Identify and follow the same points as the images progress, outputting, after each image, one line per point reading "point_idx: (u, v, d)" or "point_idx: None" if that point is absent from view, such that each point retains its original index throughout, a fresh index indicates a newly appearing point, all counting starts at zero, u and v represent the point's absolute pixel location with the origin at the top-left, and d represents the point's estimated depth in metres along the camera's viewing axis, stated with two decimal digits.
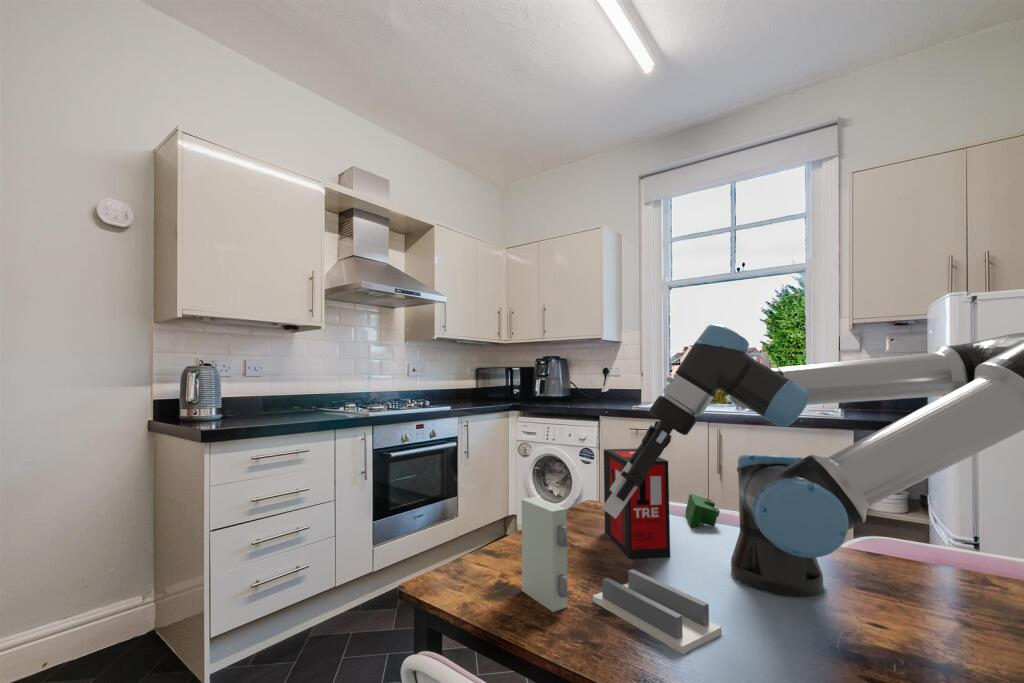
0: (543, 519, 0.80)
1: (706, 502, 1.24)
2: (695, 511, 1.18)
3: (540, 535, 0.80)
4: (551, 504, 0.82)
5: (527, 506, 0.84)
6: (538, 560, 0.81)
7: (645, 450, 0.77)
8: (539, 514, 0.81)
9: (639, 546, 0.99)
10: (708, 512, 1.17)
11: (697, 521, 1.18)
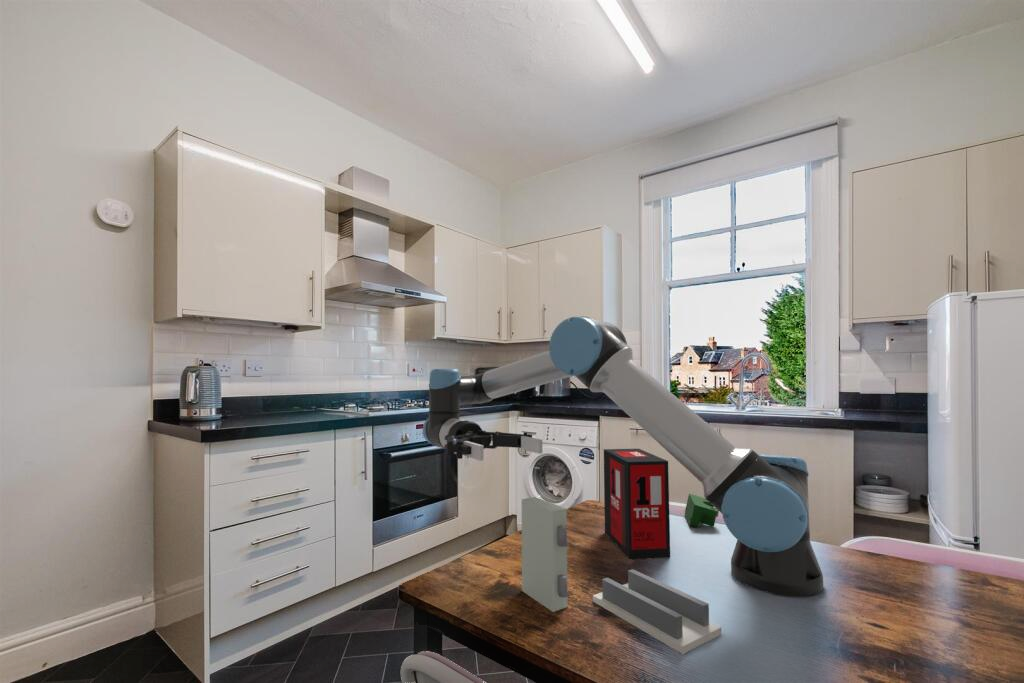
0: (543, 519, 0.80)
1: (705, 502, 1.24)
2: (694, 511, 1.18)
3: (540, 535, 0.80)
4: (551, 504, 0.82)
5: (527, 506, 0.84)
6: (538, 560, 0.81)
7: None
8: (539, 514, 0.81)
9: (639, 546, 0.99)
10: (707, 512, 1.17)
11: (696, 521, 1.18)
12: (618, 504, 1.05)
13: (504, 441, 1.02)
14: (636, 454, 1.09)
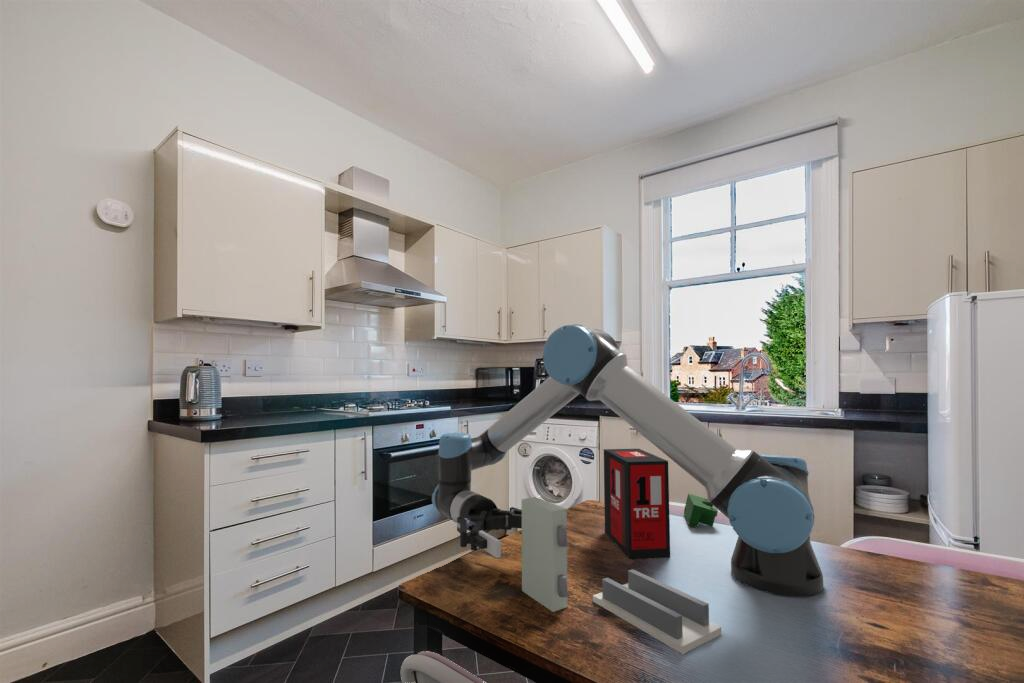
0: (543, 519, 0.80)
1: (704, 502, 1.24)
2: (693, 511, 1.18)
3: (540, 535, 0.80)
4: (551, 504, 0.82)
5: (527, 506, 0.84)
6: (538, 560, 0.81)
7: None
8: (539, 514, 0.81)
9: (639, 546, 0.99)
10: (706, 512, 1.17)
11: (695, 521, 1.18)
12: (618, 504, 1.05)
13: (520, 522, 0.95)
14: (636, 454, 1.09)
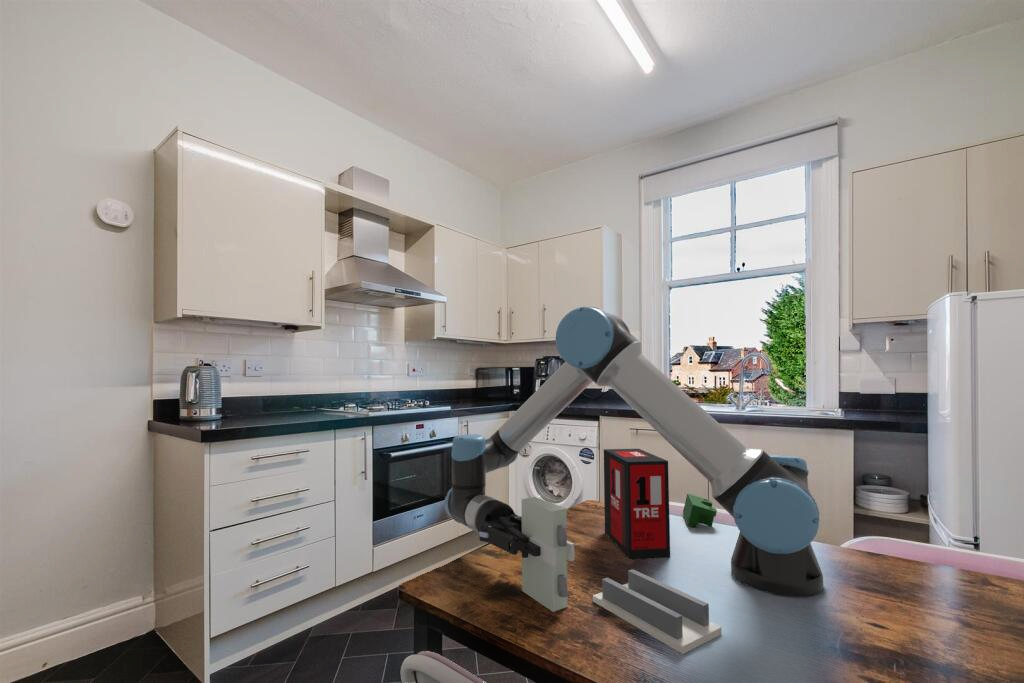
0: (543, 519, 0.80)
1: (703, 502, 1.24)
2: (692, 511, 1.18)
3: (540, 534, 0.80)
4: (551, 504, 0.82)
5: (527, 506, 0.84)
6: (538, 560, 0.81)
7: (495, 544, 0.85)
8: (539, 514, 0.81)
9: (639, 546, 0.99)
10: (705, 512, 1.17)
11: (694, 521, 1.18)
12: (618, 504, 1.05)
13: None
14: (636, 454, 1.09)
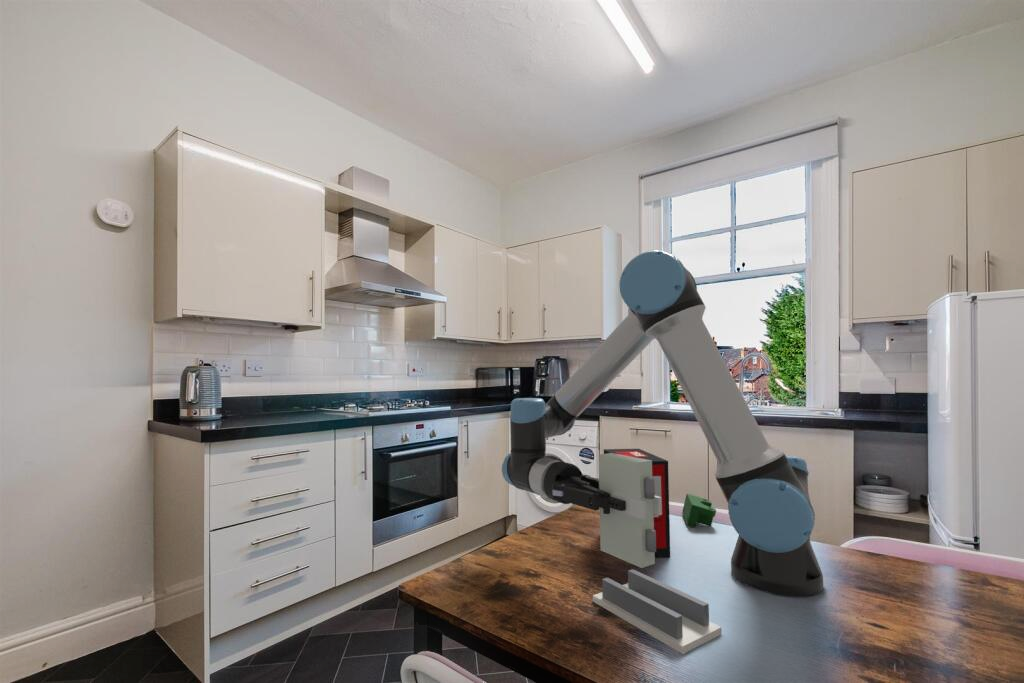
0: (627, 472, 0.76)
1: (703, 502, 1.25)
2: (692, 511, 1.18)
3: (624, 489, 0.76)
4: (633, 457, 0.78)
5: (606, 461, 0.80)
6: (622, 516, 0.77)
7: (572, 502, 0.81)
8: (622, 468, 0.77)
9: None
10: (705, 512, 1.17)
11: (694, 521, 1.18)
12: None
13: None
14: (636, 454, 1.09)
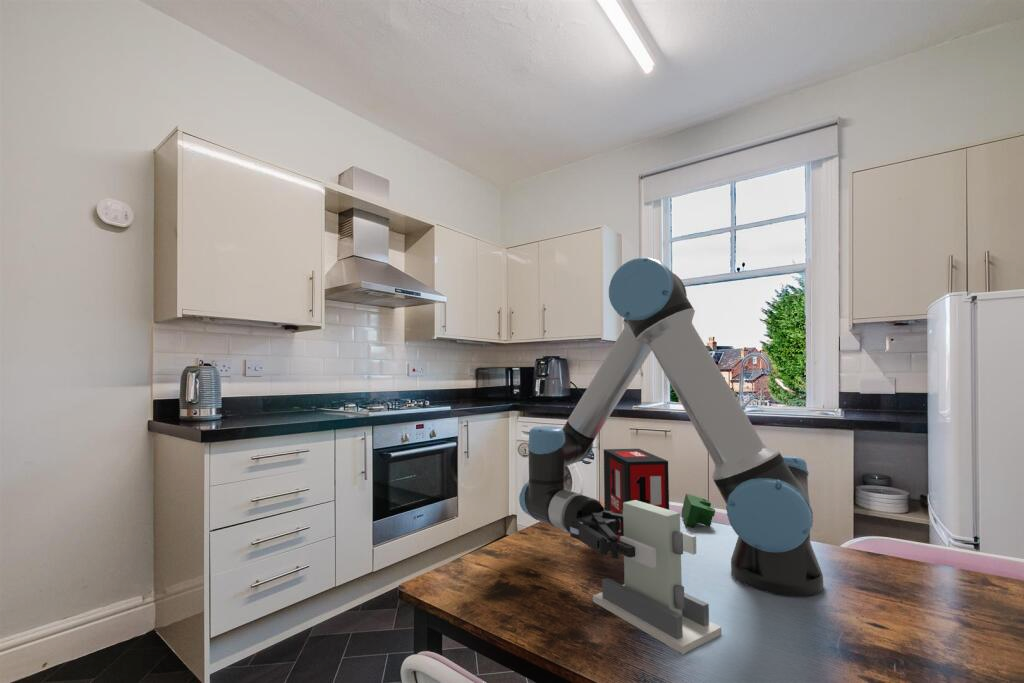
0: (654, 524, 0.74)
1: (702, 502, 1.25)
2: (691, 511, 1.18)
3: (650, 541, 0.74)
4: (659, 508, 0.76)
5: (631, 510, 0.78)
6: (648, 569, 0.75)
7: (585, 542, 0.79)
8: (648, 519, 0.75)
9: None
10: (704, 512, 1.17)
11: (693, 521, 1.18)
12: (618, 504, 1.05)
13: None
14: (636, 454, 1.09)
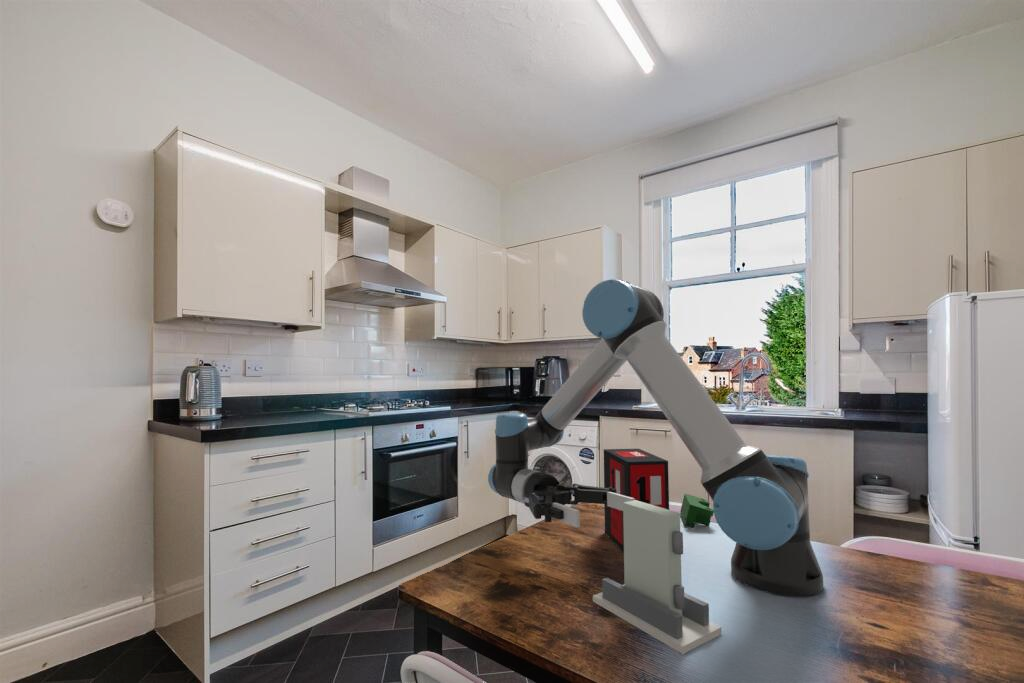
0: (654, 524, 0.74)
1: (701, 502, 1.25)
2: (689, 511, 1.18)
3: (650, 541, 0.74)
4: (659, 508, 0.76)
5: (631, 510, 0.78)
6: (648, 569, 0.75)
7: (530, 509, 0.90)
8: (648, 519, 0.75)
9: None
10: (702, 512, 1.17)
11: (691, 521, 1.18)
12: None
13: (587, 497, 0.95)
14: (636, 454, 1.09)
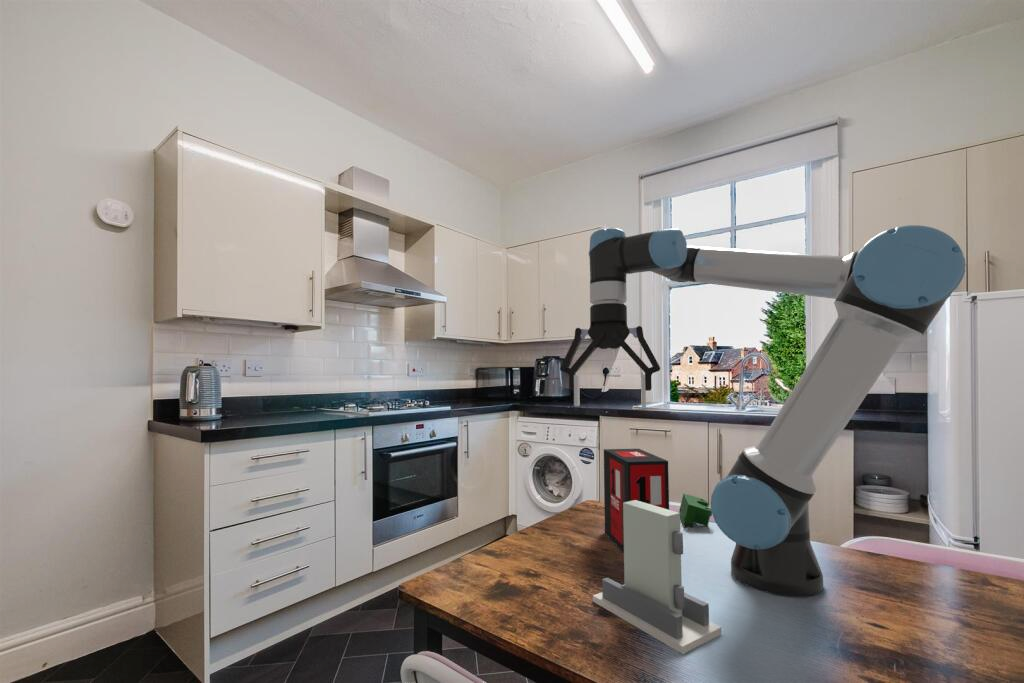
0: (654, 524, 0.74)
1: (699, 502, 1.25)
2: (688, 511, 1.18)
3: (650, 541, 0.74)
4: (659, 508, 0.76)
5: (631, 510, 0.78)
6: (648, 569, 0.75)
7: None
8: (648, 519, 0.75)
9: None
10: (701, 511, 1.18)
11: (690, 521, 1.18)
12: (618, 504, 1.05)
13: None
14: (636, 454, 1.09)
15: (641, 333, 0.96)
